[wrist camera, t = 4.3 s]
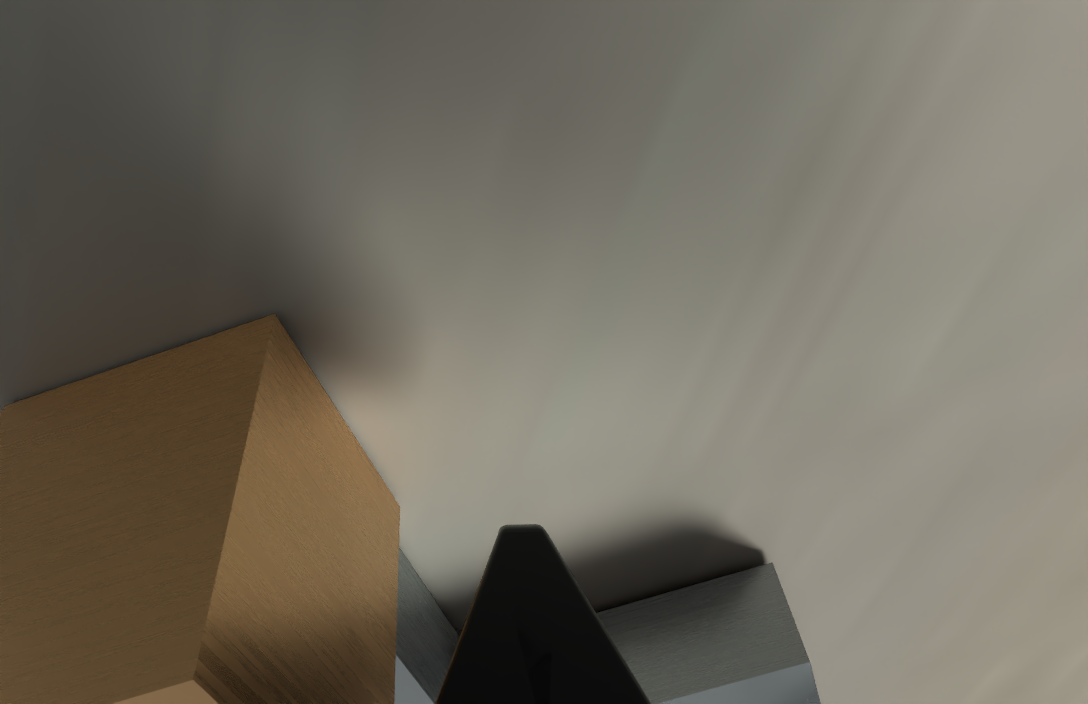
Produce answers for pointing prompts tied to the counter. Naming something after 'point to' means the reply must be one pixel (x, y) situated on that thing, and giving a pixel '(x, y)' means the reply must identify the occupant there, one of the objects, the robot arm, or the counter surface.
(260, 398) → the flange plate
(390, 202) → the counter surface
